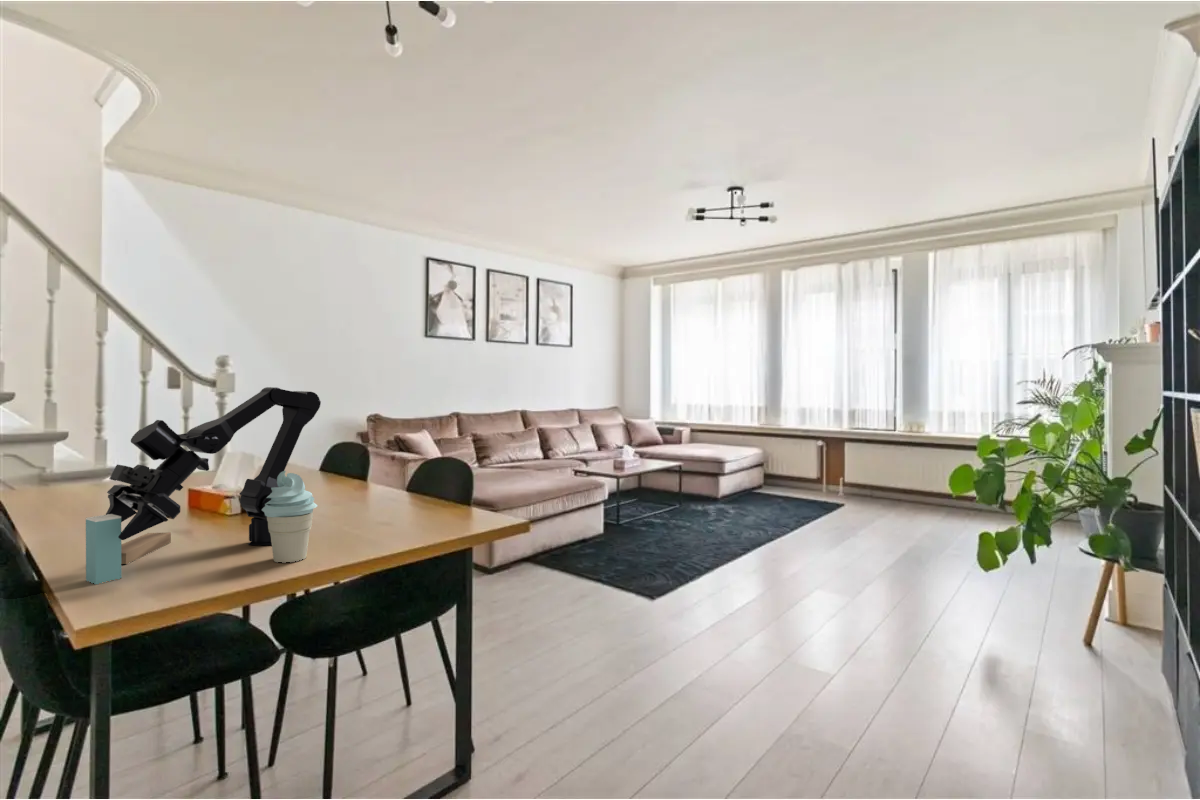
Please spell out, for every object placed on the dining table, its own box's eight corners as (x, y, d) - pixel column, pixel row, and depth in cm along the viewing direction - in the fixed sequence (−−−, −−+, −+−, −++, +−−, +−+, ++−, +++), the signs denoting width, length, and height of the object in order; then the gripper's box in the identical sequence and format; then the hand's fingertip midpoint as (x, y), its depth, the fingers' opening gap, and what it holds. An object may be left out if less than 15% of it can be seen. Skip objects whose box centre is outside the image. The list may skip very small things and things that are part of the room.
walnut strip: (170, 542, 147) (170, 532, 147) (126, 564, 130) (125, 553, 130) (148, 543, 147) (148, 532, 146) (99, 565, 129) (99, 553, 129)
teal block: (111, 575, 123) (111, 513, 123) (121, 578, 121) (121, 516, 120) (86, 580, 119) (85, 517, 119) (95, 584, 117) (95, 520, 117)
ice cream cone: (318, 561, 134) (318, 471, 134) (261, 568, 129) (261, 474, 128) (316, 550, 143) (316, 466, 143) (262, 555, 138) (262, 468, 137)
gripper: (118, 446, 129) (52, 506, 120) (163, 453, 120) (96, 518, 111) (160, 478, 137) (100, 537, 127) (205, 487, 127) (145, 551, 118)
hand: (109, 535), depth 121 cm, fingers open, 9 cm apart
